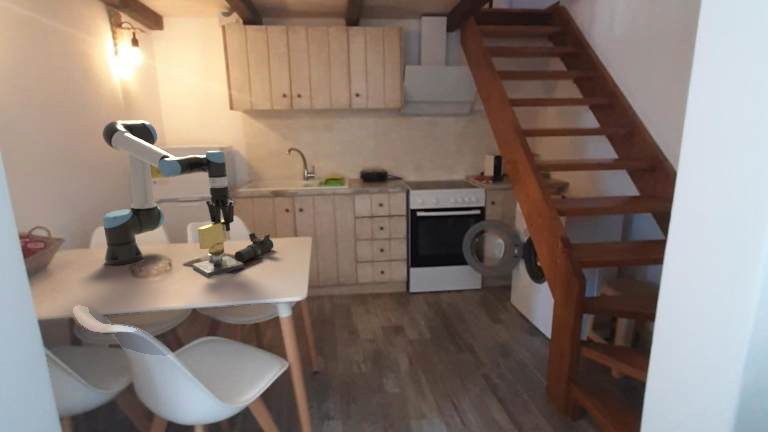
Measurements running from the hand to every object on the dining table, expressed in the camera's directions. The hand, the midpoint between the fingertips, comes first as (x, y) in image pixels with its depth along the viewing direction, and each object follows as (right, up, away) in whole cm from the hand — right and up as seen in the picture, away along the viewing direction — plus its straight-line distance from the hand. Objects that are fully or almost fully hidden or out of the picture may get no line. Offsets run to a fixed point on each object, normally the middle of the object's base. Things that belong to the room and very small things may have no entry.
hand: (224, 237), depth 189 cm
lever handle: (-2, -6, -4) cm, 8 cm away
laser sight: (+10, -10, +14) cm, 20 cm away
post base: (-1, -14, -3) cm, 14 cm away
